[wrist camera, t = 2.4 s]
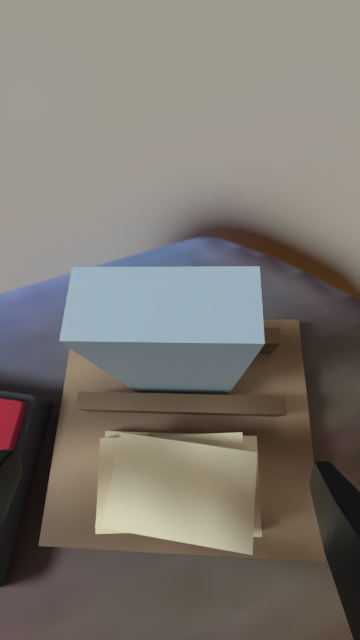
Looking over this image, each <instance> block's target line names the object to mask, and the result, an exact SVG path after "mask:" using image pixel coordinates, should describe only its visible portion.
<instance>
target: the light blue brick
mask: <svg viewBox="0 0 360 640" xmlns="http://www.w3.org/2000/svg"><path fill="white" fill-rule="evenodd" d="M59 341H60V342H61V343H63V344H64V345H66V346H67V347H69V348H70V349H72V350H73V351H75V352H76V353H78V354H79V355H81V356H82V357H84V358H85V359H87V360H88V361H90V362H91V363H93V364H94V365H96V366H97V367H99V368H100V369H102V370H103V371H105V372H106V373H108V374H109V375H111V376H112V377H114V378H115V379H117V380H118V381H120V382H122V383H123V384H125V385H126V386H128V387H129V388H131V389H132V390H134V391H135V392H137V393H178V394H220V395H228V394H229V393H230V391H231V390H232V389H233V387H234V386H235V384H236V383H237V382H238V380H239V379H240V378H241V376H242V375H243V373H244V372H245V371H246V369H247V368H248V367H249V365H250V364H251V362H252V361H253V360H254V358H255V357H256V355H257V354H258V353H259V351H260V350H261V349H262V347H263V346H264V344H265V337H264V323H263V308H262V293H261V278H260V266H247V267H72V270H71V276H70V282H69V288H68V293H67V299H66V305H65V311H64V317H63V322H62V328H61V334H60V340H59Z"/></svg>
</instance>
